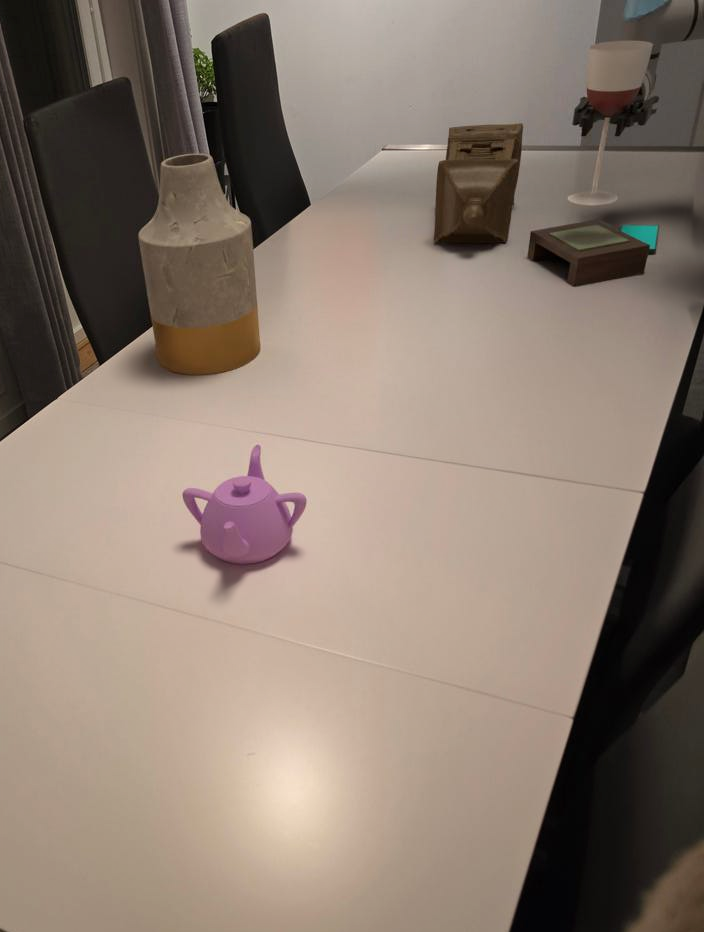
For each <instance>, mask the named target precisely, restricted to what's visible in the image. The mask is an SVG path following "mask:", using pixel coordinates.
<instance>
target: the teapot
mask: <svg viewBox="0 0 704 932" xmlns="http://www.w3.org/2000/svg"><path fill="white" fill-rule="evenodd" d="M261 448H262V447H261V445H260V444H256V445H254V447H253V448H252V450H251V453H250V458H249V465H248V470H247V475H240V476H239V475H238V476H235V477H231V478H229V479H227V480H226V479H225V480H224V481H223V482H221V483H220V484H219V485H218V486H216V488H215V490H214V491H213V492H210V491H207V490H204V489H200V488H196V487H187V488H185V489H184V490H183V491H182V494H181V495H182V500H183V503H184V505H185V507H186V508H187V510H188V512H190V514H191V515H192V516H193V518H194V519H195V520H196V521H197V523H198V524H199V525H200V527H199V532H200V540H201V543H202V544H203V546H204V547H205V549H206V550H207V551H208V552H209V553H210V554H212V555H213V556H215V557H217V558H218V559H220V560H222V561H224V562H227V563H231V564H238V565H249V564H256V563H261V562H264V561H267V560H269V559H271V558H273V557H274V556H276V555H278V553H279V552H281V551H282V550H283V549H284V548H285V547H286V546H287V545H288V543H289V542H290V540H291V537H292V535H293V532H294V526H295V525H296V523H297V522H298V521H299V520H300V518H301V516H302V515H303V514H304V511H305V510H306V508H307V497H306V495H305V494H303V493H301V492H287V493H281V494H280V493H279V492H278V491H277V490H276V489H275V488H274V487H273V485H272V484H270V482H268V481H266V479H265V476H264V472H263V469H262V464H261V463H262V462H261V453H262V449H261ZM196 499H201V500H204V501H207V502H206V505H205V507H204V509H203V512H202V511H201V510H200V508H199V506H198V504H197V501H196ZM286 503H293V506H294V508H293V512H292V514H291V512H290V510H289V507H288V505H287V504H286Z"/></svg>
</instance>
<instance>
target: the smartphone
mask: <svg viewBox="0 0 704 932" xmlns="http://www.w3.org/2000/svg"><path fill="white" fill-rule="evenodd" d="M619 230H620V231H622V232H624V233H626V234H628V235H630V236H632V237H634V238H636V239H638V240H640V241H642V242H645V243H647V244H649V245H650V248H649V252H648V254H656V252H657V246H658V241H659V239H658V238H659V231H660V224H621V225H620V228H619Z"/></svg>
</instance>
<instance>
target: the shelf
mask: <svg viewBox="0 0 704 932" xmlns="http://www.w3.org/2000/svg"><path fill="white" fill-rule="evenodd" d="M649 248H650V245H649V244H647V243H645V242H642V241H640V240H638V239H636V238H634V237H632V236H630V235H628V234H626V233H624V232H622V231H620V229H618V228H616V227H613V226H611V225H609V224H608V223H605V222H604V221H601V220H599V219H591V220H586V221H580V222H574V223H569V224H563V225H558V226H551V227H546V228H542V229H536V230H531V231H530V233H529V241H528V249H527V256H526V258H527V259H529V260H530V261H532V262H535V261H540V260H546V259H551V258H557V257H559V258H561V259H563V260H565V261H567V262H568V263H570V264H569V269H568V275H567V281H566V282H567V284H569V285H571V286H573V287H577V286H583V285H588V284H594V283H598V282H599V283H600V282H605V281H610V280H615V279H621V278H626V277H631V276H636V275H637V276H638V275H642V274H644V273H645V270H646V265H647V261H648V258H649V257H648V256H649V253H648V252H649Z"/></svg>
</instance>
